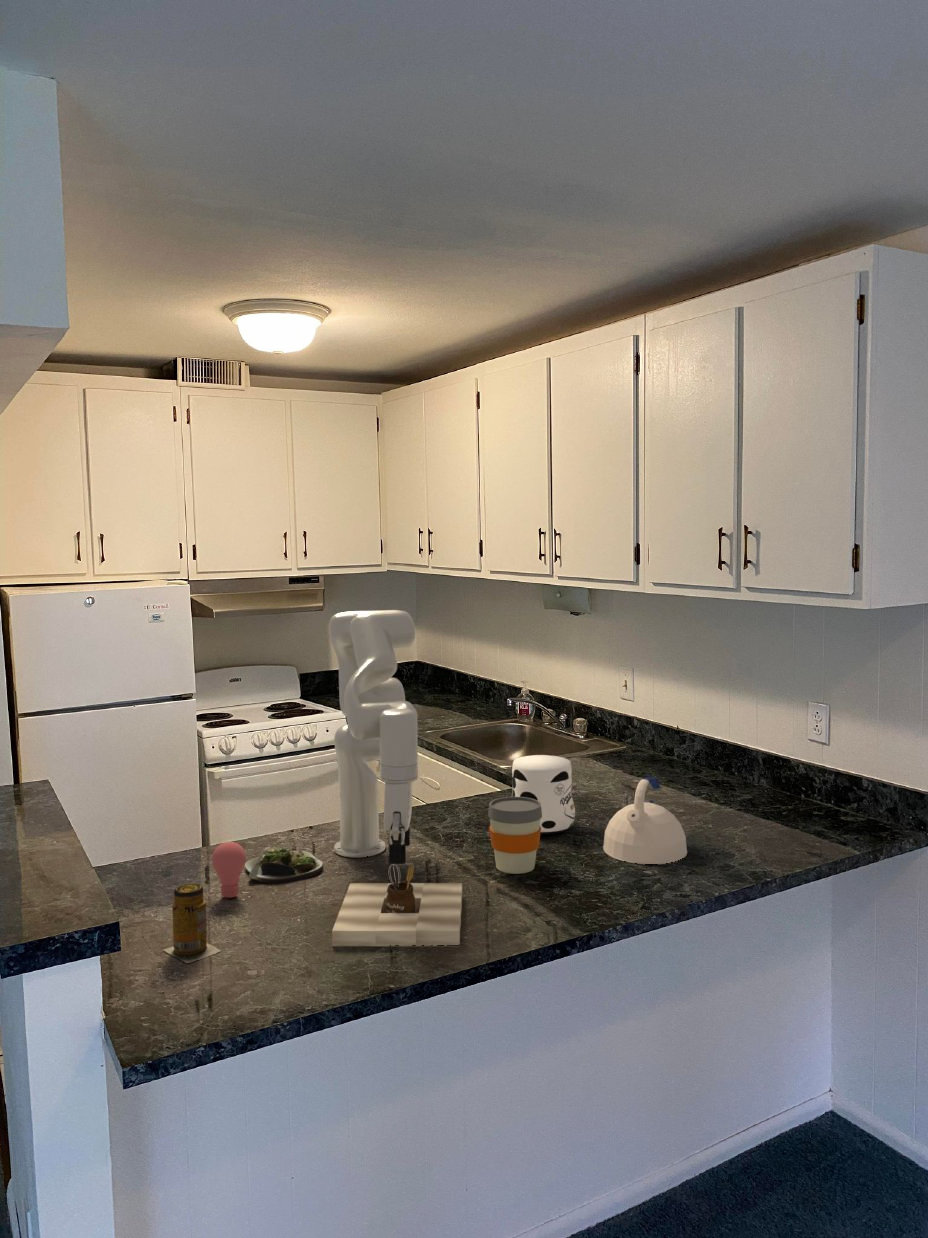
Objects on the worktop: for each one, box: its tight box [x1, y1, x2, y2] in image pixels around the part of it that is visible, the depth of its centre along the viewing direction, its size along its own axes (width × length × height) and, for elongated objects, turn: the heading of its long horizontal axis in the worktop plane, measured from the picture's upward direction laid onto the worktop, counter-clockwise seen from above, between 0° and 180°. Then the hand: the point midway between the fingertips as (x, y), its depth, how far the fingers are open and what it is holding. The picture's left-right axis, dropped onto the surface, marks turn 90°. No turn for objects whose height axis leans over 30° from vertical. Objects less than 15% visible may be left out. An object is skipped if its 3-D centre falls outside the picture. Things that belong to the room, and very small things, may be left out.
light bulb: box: [211, 841, 247, 899], centre depth 198 cm, size 7×7×12 cm
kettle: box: [602, 776, 688, 865], centre depth 224 cm, size 20×21×18 cm
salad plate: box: [244, 847, 324, 884], centre depth 215 cm, size 19×18×5 cm
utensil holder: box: [385, 864, 416, 913], centre depth 185 cm, size 6×6×12 cm
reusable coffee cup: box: [487, 796, 542, 875], centre depth 214 cm, size 13×12×15 cm
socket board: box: [331, 882, 463, 947], centre depth 185 cm, size 24×24×3 cm
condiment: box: [163, 883, 222, 964], centre depth 172 cm, size 7×8×12 cm
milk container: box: [511, 754, 576, 835], centre depth 242 cm, size 17×17×18 cm
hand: (399, 854), depth 185 cm, fingers open, 9 cm apart
